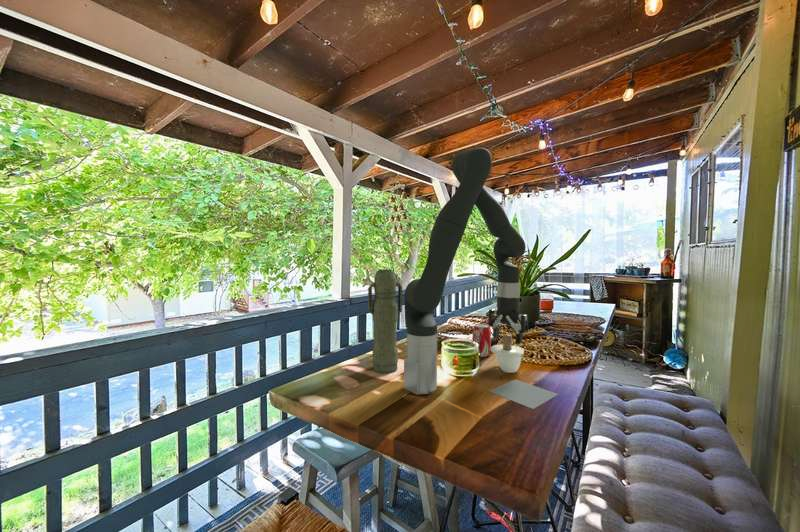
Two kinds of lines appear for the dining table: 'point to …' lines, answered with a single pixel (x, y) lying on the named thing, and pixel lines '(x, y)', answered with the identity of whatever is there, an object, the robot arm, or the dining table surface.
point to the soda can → (482, 338)
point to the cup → (508, 363)
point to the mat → (524, 393)
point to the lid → (507, 348)
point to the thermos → (385, 320)
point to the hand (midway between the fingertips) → (507, 341)
